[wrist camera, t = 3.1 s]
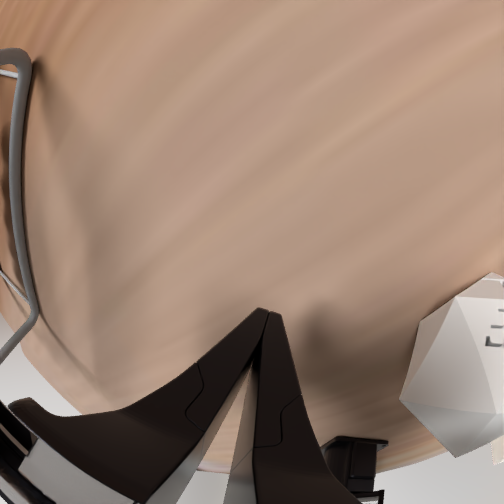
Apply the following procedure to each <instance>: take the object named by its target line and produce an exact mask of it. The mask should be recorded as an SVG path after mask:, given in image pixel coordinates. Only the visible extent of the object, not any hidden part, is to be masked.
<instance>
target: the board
mask: <svg viewBox="0 0 504 504" xmlns="http://www.w3.org/2000/svg"><path fill="white" fill-rule="evenodd" d="M491 447H492V457H493V465H495V464H498V463H502V462H504V435H502V436H501V437H499V438H497V439H495V440H493V441H491Z"/></svg>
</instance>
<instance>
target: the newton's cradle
mask: <svg viewBox="0 0 504 504" xmlns="http://www.w3.org/2000/svg"><path fill="white" fill-rule="evenodd" d="M5 64H13V65H15V66H16V68H17V71H18V73H15V72H11V71H6V70H1V69H0V74H1V75H5V76H9V77H13V78H17V84H16V89H15V95H14V102H13V109H12V118H11V128H10V143H9V189H10V204H11V215H12V224H13V231H14V238H15V244H16V250H17V255H18V261H19V265H20V270H21V274H22V279H23V283H24V287H25V290H26V294H27V298H28V299H27V298H26V297H25V296H24V295H23V294H22V293H21V292H20V291H19V290H18V289H17V288H16V287H15V286H14V285H13V284H12V283H11V281H10V280H9V279H8V278H7V277H6V276H5V275H4V274H3V273H2V271H1V270H0V274H1V275H2V277H3V278H4V279H5V280H6V281H7V282H8V283H9V284H10V285H11V287H12V288H13V289H14V290H15V291H16V292H17V293H18V294H19V295H20V296H21V297H22V298H23V299H24V300H25V301H26V302H27V303H28V304H29V305H30V308H31V313H30V316H29V318H28V320H27V321H26V322H25V323H24V324H23V325H22V326H21V327H20V328H19V329H18V331H17V332H16V333H15V334H14V335H13V336H12V337H11V338H10V339H9V340H8V342H7V343H6V344H5V345H4V346H3V347H2V349H1V350H0V364H1V363H2V362H3V361H4V360H5V358H6V357H7V356H8V355H9V353H10V352H11V351H12V350H13V349H14V348H15V347H16V345H17V344H18V343H19V342H20V341H21V340H22V339H23V337H24V336H25V335H26V334H27V333H28V332H29V331H30V330H31V329H32V327H33V326H34V325H35V323H36V321H37V318H38V315H39V307H38V303H37V299H36V295H35V291H34V287H33V283H32V278H31V273H30V268H29V262H28V257H27V250H26V243H25V236H24V227H23V216H22V202H21V150H22V135H23V125H24V116H25V109H26V102H27V96H28V91H29V86H30V81H31V75H32V63H31V59H30V57H29V55H28V54H27V52H25V51H24V50H22V49H20V48H7V49H0V65H5Z"/></svg>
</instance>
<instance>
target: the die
mask: <svg viewBox="0 0 504 504" xmlns="http://www.w3.org/2000/svg"><path fill="white" fill-rule="evenodd" d="M399 400H400V401H401V402H402V403H403V404H404V405H405V406H406V407H407V408H408V410H409V411H410V412H411V413H412V414H413V415H414V416H415V417H416V418H417V419H418V420H419V421H420V422H421V423H422V424H423V425H424V426H425V427H426V428H427V429H428V430H429V431H430V432H431V433H432V434H433V435H434V436H435V437H436V438H437V440H438V441H439V442H440V443H441V444H442V445H443V446H444V447H445V448H446V449H447V450H448V451H449V452H450V453H451V454H452V455H453V456H454V457H455V458H456V457H459V456H461V455H464V454H466V453H468V452H470V451H473V450H475V449H477V448H479V447H481V446H483V445H485V444H487V443H489V442H491V441H493V440H495V439H497V438H499V437H501V436H502V435H504V277H502V276H500V275H498V274H495V273H493V272H490V273H489V274H488V275H486V276H485V277H483V278H482V279H481V280H479V281H478V282H476V283H475V284H473V285H472V286H470V287H469V288H467V289H466V290H464V291H463V292H461V293H460V294H458V295H456V296H455V297H454V298H452V299H451V300H450V301H448V302H447V303H446V304H444V305H443V306H441V307H440V308H439V309H437V310H436V311H434V312H433V313H432V314H430V315H429V316H427V317H426V318H424V319H423V320H421V321H420V323H419V328H418V333H417V337H416V341H415V346H414V350H413V354H412V358H411V362H410V365H409V369H408V372H407V376H406V379H405V382H404V386H403V389H402V392H401V395H400V398H399Z"/></svg>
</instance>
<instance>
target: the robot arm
mask: <svg viewBox="0 0 504 504" xmlns="http://www.w3.org/2000/svg"><path fill="white" fill-rule="evenodd" d="M252 362H253V363H252ZM251 365H252V366H251ZM250 367H251V370H250ZM249 370H250V375H249V380H248V385H247V391H246V396H245V401H244V406H243V411H242V416H241V422H240V427H239V432H238V437H237V441H236V446H235V451H234V456H233V461H232V466H231V470H230V475H229V480H228V484H227V489H226V494H225V498H224V503H223V504H362V503H361V502H368V501H377V500H378V504H383V500H384V490H379V491H374V492H373V489H374V478H375V475H376V462H377V452H378V451H380V450H381V449H383V448H385V447H387V446H388V441H375V440H363V439H354V438H345V437H336V438H334V439H333V440H331V441H330V442H328V443H327V444H325V445H324V446H322V447H321V448H320V447H319V444H318V442H317V439H316V437H315V434H314V432H313V429H312V426H311V424H310V421H309V418H308V415H307V411H306V408H305V404H304V400H303V396H302V395H301V394H302V393H301V389H300V385H299V381H298V377H297V373H296V369H295V365H294V361H293V358H292V354H291V350H290V346H289V342H288V338H287V335H286V331H285V327H284V323H283V319H282V316H281V314H279V313H276V312H272V311H270V312H269V311H268V310H266V309H263V308H256V309H255V310H254V311H253V312H252V313H251V314H250V315H249V316H248V317H247V318H245V319H244V320H243V321H242V322H241V323H240V324H239V325H238V326H237V327H235V328H234V329H233V330H232V331H231V332H230V333H229V334H228V335H226V336H225V337H224V338H223V339H222V340H221V341H220V342H218V343H217V344H216V345H215V346H214V347H213V348H212V349H210V350H209V351H208V352H207V353H206V354H205V355H203V356H202V357H201V358H200V359H199V360H198V361H197V363H194V364H193V365H192V366H190V367H189V368H188V369H187V370H185V371H184V372H183V373H182V374H180V375H179V376H178V377H176V378H175V379H173V380H172V381H170V382H169V383H167V384H166V385H164V386H163V387H161V388H159V389H158V390H156V391H154V392H153V393H151V394H149V395H147V396H146V397H144V398H142V399H141V400H139V401H137V402H135V403H133V404H132V405H130V406H127V407H125V408H122V409H119V410H115V411H109V412H103V413H96V414H88V415H80V416H70V417H62V416H56V415H53V414H51V413H49V412H48V411H46V410H45V409H44V408H43V407H41V406H40V405H39V404H38V403H37V402H35V401H34V400H33V399H32V398H30V397H28V398H24V399H19V400H16V401H14V402H12V403H10V404H9V405H8V408H9V409H10V410H11V411H10V410H9V409H8V408H7V407H6V406H5V405H4V404H3V402H2V401H1V400H0V496H1V497H2V498H3V499H4V500H5V501H6V502H7V503H8V504H176V502H177V501H178V499H179V498H180V496H181V495H182V493H183V491H184V490H185V488H186V486H187V485H188V483H189V481H190V480H191V478H192V476H193V474H194V473H195V471H196V469H197V468H198V466H199V464H200V462H201V461H202V459H203V457H204V455H205V454H206V452H207V450H208V448H209V446H210V445H211V443H212V441H213V439H214V437H215V435H216V434H217V432H218V430H219V428H220V426H221V424H222V422H223V421H224V419H225V417H226V415H227V413H228V411H229V409H230V407H231V405H232V403H233V402H234V400H235V398H236V396H237V394H238V392H239V390H240V388H241V386H242V384H243V382H244V380H245V378H246V376H247V374H248V372H249ZM29 429H30V430H31V431H32V432H31V431H30V430H29Z"/></svg>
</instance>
